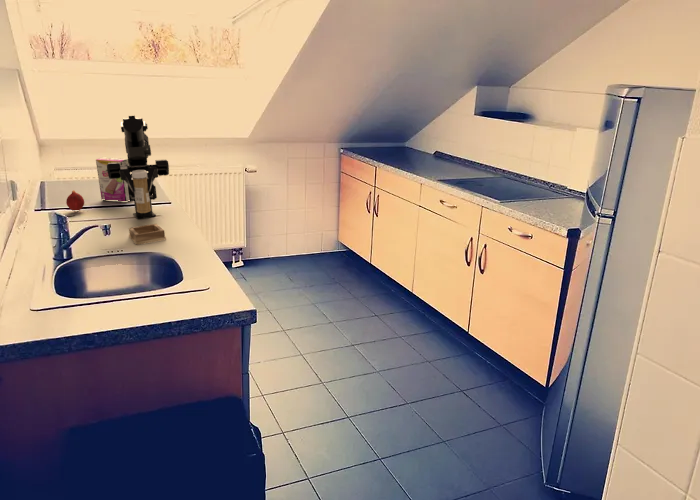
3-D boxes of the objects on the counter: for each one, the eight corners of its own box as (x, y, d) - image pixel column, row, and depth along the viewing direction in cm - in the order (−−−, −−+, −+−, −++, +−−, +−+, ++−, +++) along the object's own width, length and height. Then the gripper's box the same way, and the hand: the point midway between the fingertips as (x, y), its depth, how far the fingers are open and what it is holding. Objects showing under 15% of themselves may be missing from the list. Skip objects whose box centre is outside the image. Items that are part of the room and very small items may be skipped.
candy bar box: (100, 201, 220) (94, 159, 214) (108, 198, 225) (103, 156, 219) (126, 203, 218) (121, 161, 212) (134, 200, 222) (128, 158, 217)
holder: (129, 236, 181) (127, 227, 180) (157, 232, 186) (156, 223, 185) (136, 244, 174) (135, 235, 173) (166, 239, 179) (165, 230, 178)
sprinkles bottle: (154, 211, 187) (149, 170, 182) (142, 214, 183) (137, 173, 179) (145, 208, 189) (140, 168, 184) (133, 211, 186) (128, 171, 181)
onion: (89, 211, 207) (85, 190, 205) (74, 215, 203) (70, 193, 200) (79, 208, 210) (76, 187, 208) (64, 212, 206) (61, 191, 203)
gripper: (103, 137, 178) (107, 180, 172) (165, 134, 184) (171, 176, 179) (106, 157, 188) (111, 198, 182) (165, 154, 194) (171, 194, 188)
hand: (141, 191), depth 183 cm, fingers closed on sprinkles bottle, 4 cm apart
